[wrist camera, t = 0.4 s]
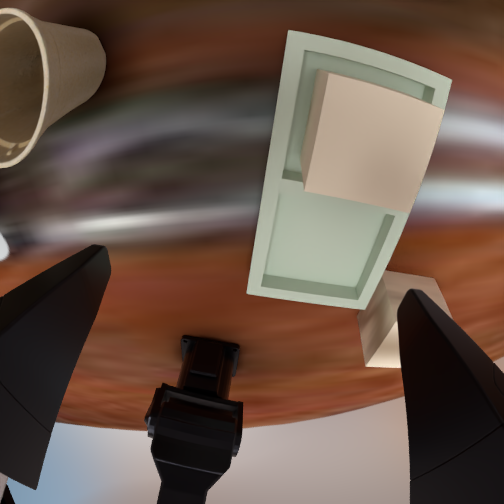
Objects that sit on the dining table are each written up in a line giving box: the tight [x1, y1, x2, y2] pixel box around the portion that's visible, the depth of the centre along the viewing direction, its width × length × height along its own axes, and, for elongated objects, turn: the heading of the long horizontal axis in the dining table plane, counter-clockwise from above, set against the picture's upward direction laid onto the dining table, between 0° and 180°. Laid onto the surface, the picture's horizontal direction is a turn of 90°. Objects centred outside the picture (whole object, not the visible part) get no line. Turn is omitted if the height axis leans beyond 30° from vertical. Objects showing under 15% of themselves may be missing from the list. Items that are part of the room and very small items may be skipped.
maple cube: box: [357, 270, 453, 368], centre depth 25 cm, size 6×6×6 cm
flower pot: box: [0, 8, 106, 168], centre depth 13 cm, size 9×9×9 cm
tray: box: [247, 30, 452, 310], centre depth 18 cm, size 19×10×6 cm, turn 173°
